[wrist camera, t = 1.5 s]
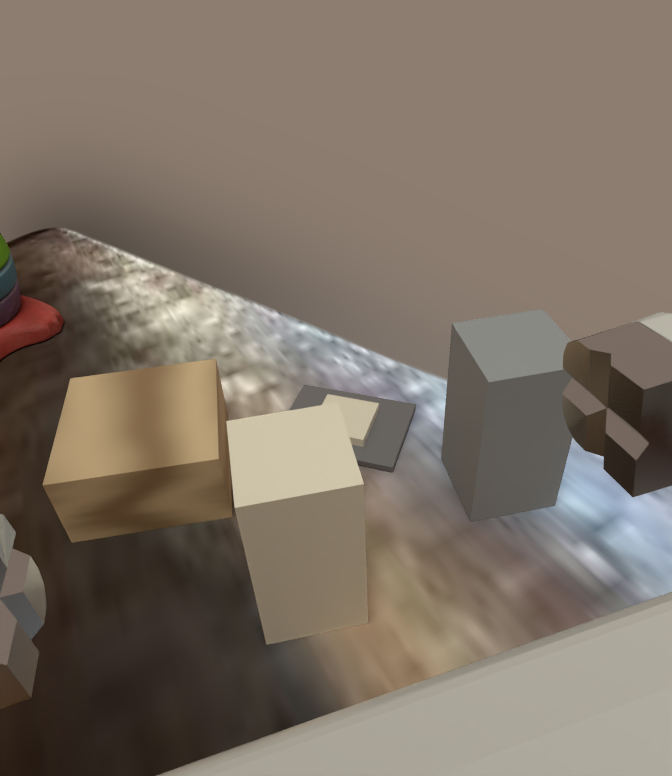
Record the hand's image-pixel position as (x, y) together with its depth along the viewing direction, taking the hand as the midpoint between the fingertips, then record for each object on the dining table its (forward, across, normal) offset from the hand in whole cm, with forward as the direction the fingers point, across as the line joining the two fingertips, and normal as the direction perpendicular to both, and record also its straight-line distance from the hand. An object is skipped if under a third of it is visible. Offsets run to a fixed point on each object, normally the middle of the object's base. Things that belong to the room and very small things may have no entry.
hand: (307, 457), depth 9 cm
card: (+26, -4, +19) cm, 33 cm away
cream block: (+15, +1, +20) cm, 25 cm away
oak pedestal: (+26, +8, +18) cm, 33 cm away
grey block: (+19, -12, +21) cm, 30 cm away
